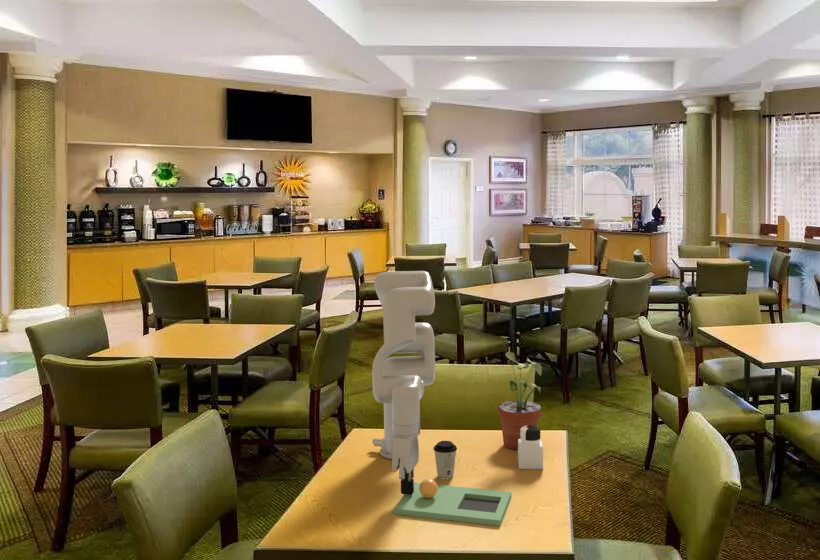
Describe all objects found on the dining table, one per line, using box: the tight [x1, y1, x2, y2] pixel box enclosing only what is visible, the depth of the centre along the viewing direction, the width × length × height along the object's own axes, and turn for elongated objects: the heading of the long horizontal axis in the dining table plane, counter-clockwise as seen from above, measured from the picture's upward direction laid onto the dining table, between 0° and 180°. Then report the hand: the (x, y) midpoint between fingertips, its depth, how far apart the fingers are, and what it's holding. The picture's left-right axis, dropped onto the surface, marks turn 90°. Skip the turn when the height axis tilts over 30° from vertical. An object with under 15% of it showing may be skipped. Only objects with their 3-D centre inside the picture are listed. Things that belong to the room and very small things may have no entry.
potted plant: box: [497, 351, 543, 450], centre depth 236 cm, size 16×15×35 cm
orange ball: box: [419, 478, 438, 498], centre depth 195 cm, size 5×5×5 cm
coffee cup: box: [433, 440, 458, 480], centre depth 213 cm, size 7×7×10 cm
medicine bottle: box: [517, 425, 544, 470], centre depth 220 cm, size 7×7×12 cm
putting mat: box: [393, 481, 512, 527], centre depth 193 cm, size 28×18×2 cm, turn 73°
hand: (407, 493), depth 196 cm, fingers closed
